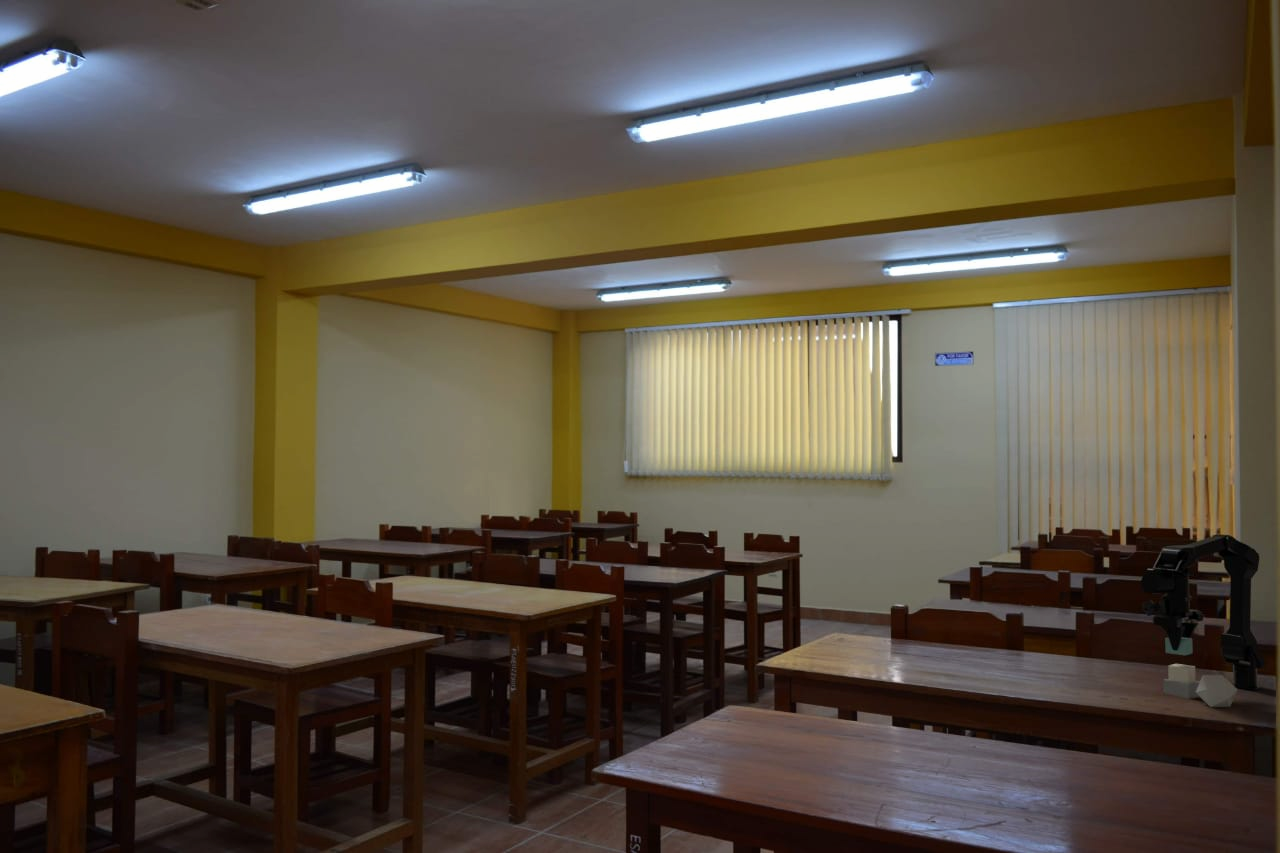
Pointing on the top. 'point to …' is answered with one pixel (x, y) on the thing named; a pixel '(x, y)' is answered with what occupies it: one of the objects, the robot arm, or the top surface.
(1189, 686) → the base block
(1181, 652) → the teal brick
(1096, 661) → the top surface
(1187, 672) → the cream brick
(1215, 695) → the die
